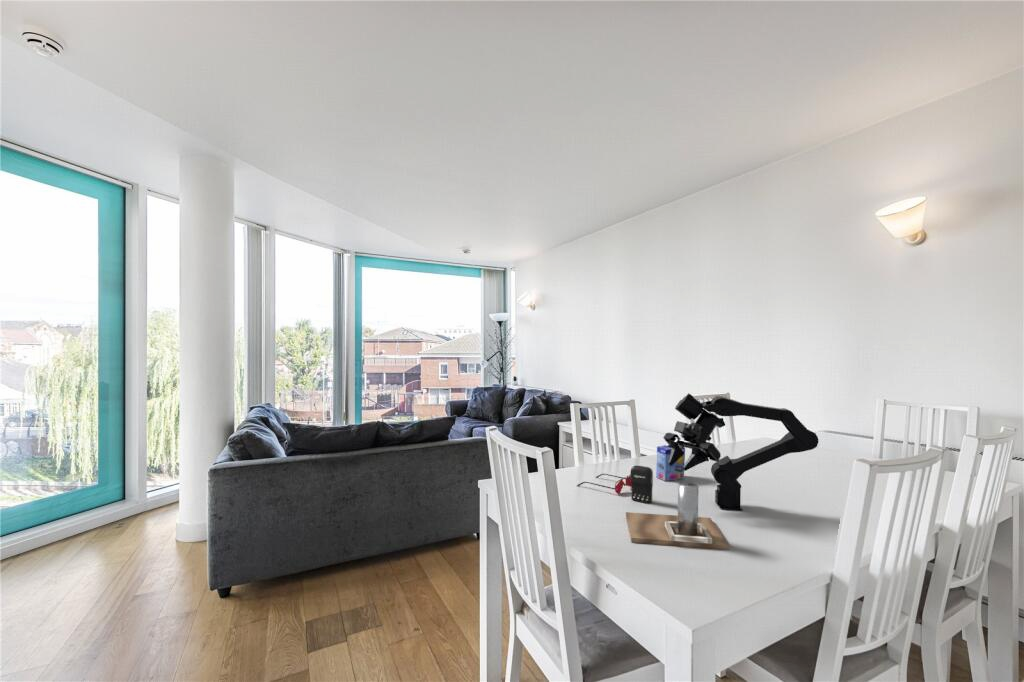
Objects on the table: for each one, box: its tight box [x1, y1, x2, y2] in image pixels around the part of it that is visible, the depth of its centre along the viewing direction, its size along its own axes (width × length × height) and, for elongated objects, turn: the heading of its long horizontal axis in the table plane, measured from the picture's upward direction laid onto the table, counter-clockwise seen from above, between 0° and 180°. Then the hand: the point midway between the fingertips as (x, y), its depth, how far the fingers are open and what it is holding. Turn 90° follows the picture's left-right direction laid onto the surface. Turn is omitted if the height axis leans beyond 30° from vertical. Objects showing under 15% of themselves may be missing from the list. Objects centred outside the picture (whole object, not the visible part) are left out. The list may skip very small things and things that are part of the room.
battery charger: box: [629, 464, 654, 504], centre depth 151 cm, size 7×4×11 cm, turn 56°
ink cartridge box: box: [655, 444, 686, 482], centre depth 176 cm, size 10×6×14 cm, turn 115°
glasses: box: [576, 473, 632, 495], centre depth 166 cm, size 14×16×5 cm
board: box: [625, 512, 730, 551], centre depth 127 cm, size 24×18×2 cm
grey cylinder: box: [677, 482, 699, 536], centre depth 122 cm, size 5×5×13 cm
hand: (676, 467), depth 142 cm, fingers open, 6 cm apart
